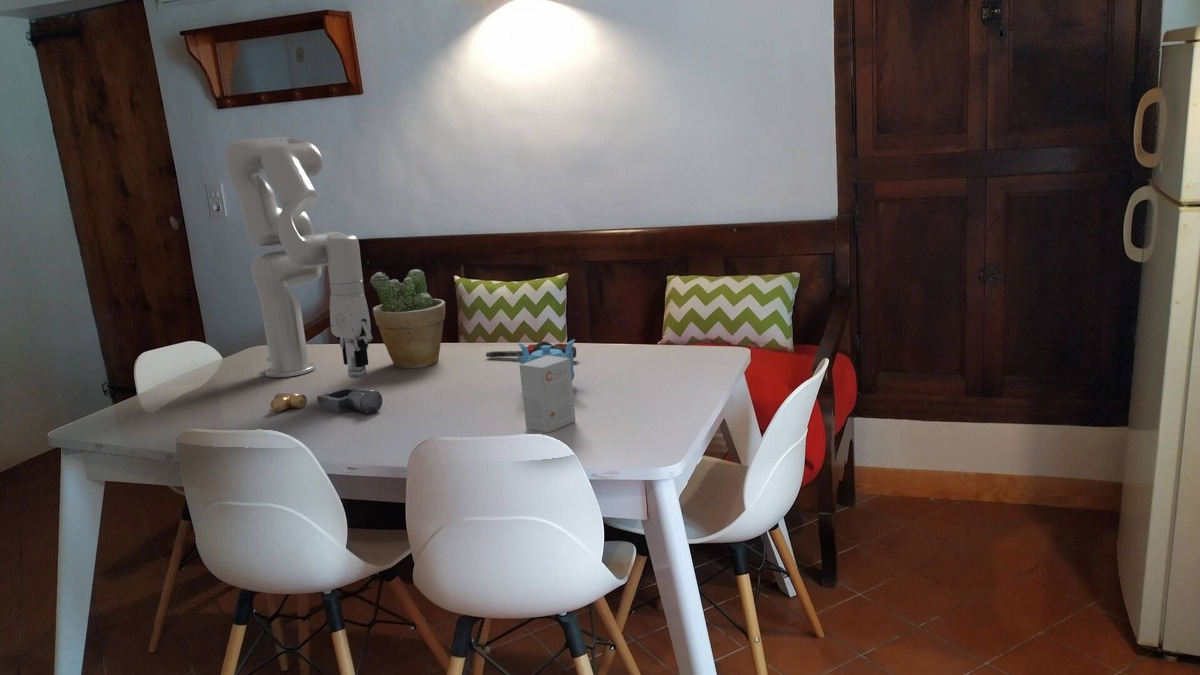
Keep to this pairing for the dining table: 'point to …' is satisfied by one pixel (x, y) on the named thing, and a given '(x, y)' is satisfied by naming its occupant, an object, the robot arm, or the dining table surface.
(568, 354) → the teapot
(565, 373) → the small box
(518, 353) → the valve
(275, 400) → the bronze tee
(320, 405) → the grey framed piece
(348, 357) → the silver capped cylinder
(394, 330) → the potted plant
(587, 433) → the dining table surface
